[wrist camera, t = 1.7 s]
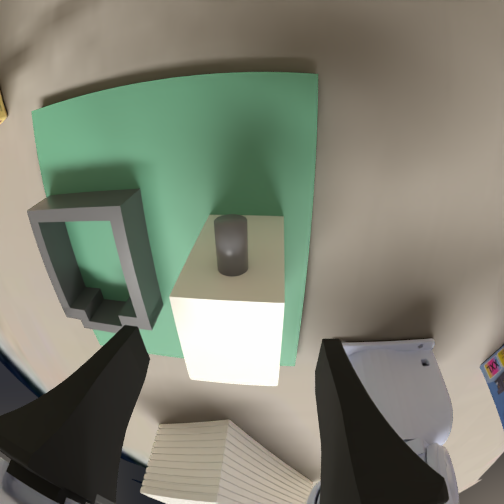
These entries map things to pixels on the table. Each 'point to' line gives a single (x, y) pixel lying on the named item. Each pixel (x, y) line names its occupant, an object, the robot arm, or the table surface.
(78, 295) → the socket
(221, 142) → the green mat
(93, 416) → the robot arm
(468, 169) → the table surface
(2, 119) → the candy box
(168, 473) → the stack of papers
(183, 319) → the plug
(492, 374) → the ink cartridge box
